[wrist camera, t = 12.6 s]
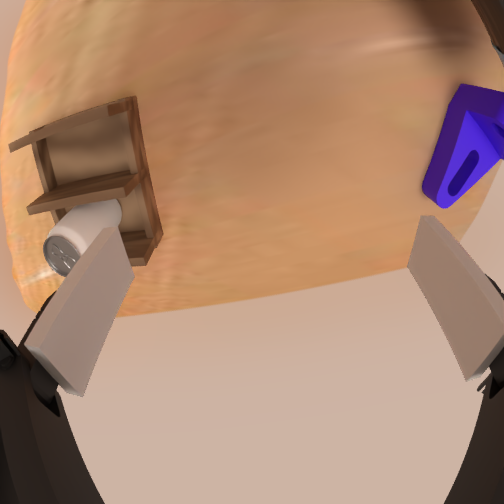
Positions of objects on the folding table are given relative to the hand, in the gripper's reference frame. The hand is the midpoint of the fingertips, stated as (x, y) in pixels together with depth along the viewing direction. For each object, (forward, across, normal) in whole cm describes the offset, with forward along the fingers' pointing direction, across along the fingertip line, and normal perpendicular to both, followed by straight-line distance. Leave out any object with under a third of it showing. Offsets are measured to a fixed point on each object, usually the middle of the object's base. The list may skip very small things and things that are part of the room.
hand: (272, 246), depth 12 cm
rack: (+24, -23, -4) cm, 34 cm away
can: (+23, -23, -8) cm, 34 cm away
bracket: (+26, +29, -1) cm, 39 cm away
